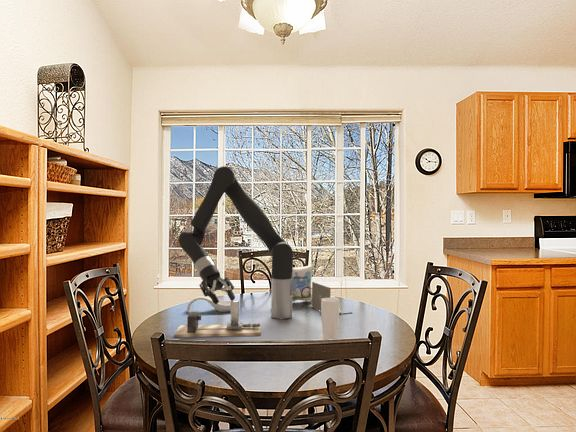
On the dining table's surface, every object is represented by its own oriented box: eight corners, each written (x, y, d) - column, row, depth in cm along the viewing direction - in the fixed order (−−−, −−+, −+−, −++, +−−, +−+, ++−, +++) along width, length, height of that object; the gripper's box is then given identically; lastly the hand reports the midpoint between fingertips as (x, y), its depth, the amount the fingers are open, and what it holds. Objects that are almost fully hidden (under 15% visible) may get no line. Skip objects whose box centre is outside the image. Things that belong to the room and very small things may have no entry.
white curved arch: (236, 307, 194) (236, 292, 194) (238, 313, 183) (238, 297, 183) (186, 309, 189) (186, 294, 189) (186, 315, 177) (186, 300, 177)
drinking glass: (327, 336, 147) (327, 296, 147) (342, 340, 143) (343, 299, 143) (317, 340, 142) (317, 299, 142) (332, 345, 138) (333, 302, 138)
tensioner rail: (259, 326, 160) (260, 309, 160) (260, 335, 148) (260, 316, 148) (179, 328, 157) (180, 310, 157) (174, 337, 145) (174, 318, 145)
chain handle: (260, 325, 157) (260, 299, 157) (260, 328, 152) (260, 302, 152) (227, 325, 156) (227, 300, 155) (226, 329, 151) (226, 303, 150)
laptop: (353, 314, 183) (353, 286, 183) (329, 316, 178) (329, 288, 178) (333, 305, 199) (333, 280, 199) (311, 308, 194) (311, 281, 194)
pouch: (276, 303, 203) (277, 264, 203) (309, 300, 210) (310, 262, 210) (282, 306, 195) (283, 266, 195) (316, 303, 203) (317, 264, 203)
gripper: (197, 265, 157) (216, 298, 149) (224, 262, 168) (243, 292, 160) (189, 277, 160) (207, 310, 153) (216, 273, 171) (234, 303, 164)
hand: (225, 301), depth 157 cm, fingers open, 8 cm apart
